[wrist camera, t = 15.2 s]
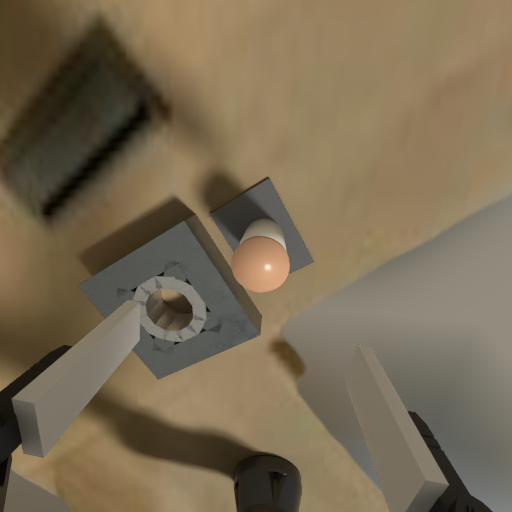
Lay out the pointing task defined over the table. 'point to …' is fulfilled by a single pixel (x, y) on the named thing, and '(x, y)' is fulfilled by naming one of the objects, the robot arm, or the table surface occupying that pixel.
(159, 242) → the housing
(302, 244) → the rubber mat
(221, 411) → the table surface
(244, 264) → the capped white peg
